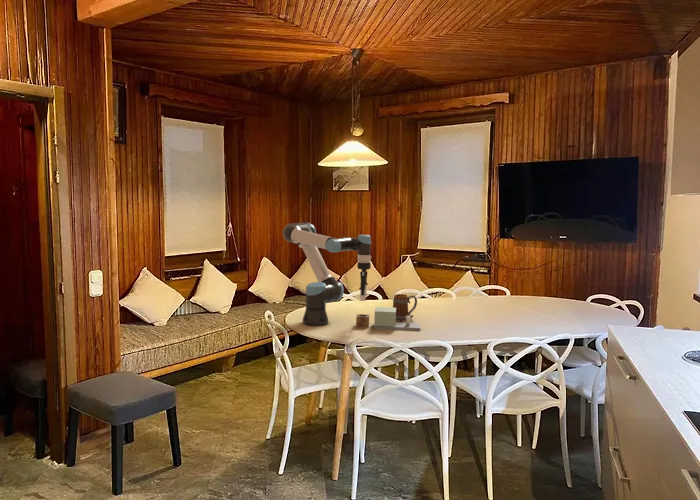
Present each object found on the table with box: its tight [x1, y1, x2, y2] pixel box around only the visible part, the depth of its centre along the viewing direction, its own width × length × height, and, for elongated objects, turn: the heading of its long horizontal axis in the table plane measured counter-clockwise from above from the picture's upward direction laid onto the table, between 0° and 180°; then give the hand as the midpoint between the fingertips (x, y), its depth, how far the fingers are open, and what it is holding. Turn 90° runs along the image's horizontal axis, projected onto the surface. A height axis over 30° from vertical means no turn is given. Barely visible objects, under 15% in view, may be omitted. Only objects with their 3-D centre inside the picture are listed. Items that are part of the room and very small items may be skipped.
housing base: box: [373, 315, 421, 332], centre depth 316 cm, size 26×12×6 cm, turn 85°
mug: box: [392, 293, 418, 322], centre depth 336 cm, size 16×11×15 cm
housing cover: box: [373, 306, 397, 327], centre depth 317 cm, size 12×12×8 cm
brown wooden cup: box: [355, 313, 370, 329], centre depth 318 cm, size 7×7×6 cm
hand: (363, 298), depth 317 cm, fingers open, 13 cm apart
